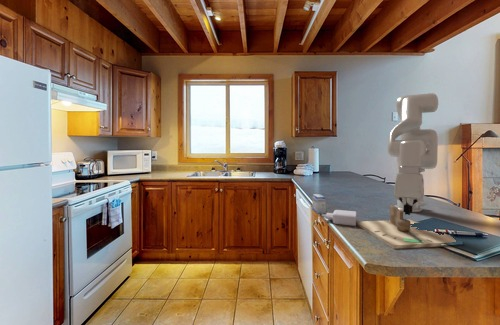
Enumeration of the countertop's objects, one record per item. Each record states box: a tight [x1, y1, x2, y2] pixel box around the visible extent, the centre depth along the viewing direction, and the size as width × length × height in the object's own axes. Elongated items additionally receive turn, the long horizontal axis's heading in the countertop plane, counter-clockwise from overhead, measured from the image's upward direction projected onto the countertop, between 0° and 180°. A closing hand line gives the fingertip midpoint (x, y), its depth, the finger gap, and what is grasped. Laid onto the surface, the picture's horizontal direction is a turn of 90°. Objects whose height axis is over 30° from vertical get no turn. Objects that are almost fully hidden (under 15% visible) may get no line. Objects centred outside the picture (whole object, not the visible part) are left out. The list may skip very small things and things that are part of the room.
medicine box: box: [311, 193, 327, 215], centre depth 134 cm, size 8×4×9 cm, turn 5°
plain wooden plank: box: [389, 204, 422, 242], centre depth 101 cm, size 24×4×7 cm, turn 174°
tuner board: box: [356, 219, 456, 250], centre depth 101 cm, size 26×26×1 cm
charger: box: [320, 209, 357, 227], centre depth 118 cm, size 5×9×15 cm
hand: (407, 213), depth 107 cm, fingers closed
